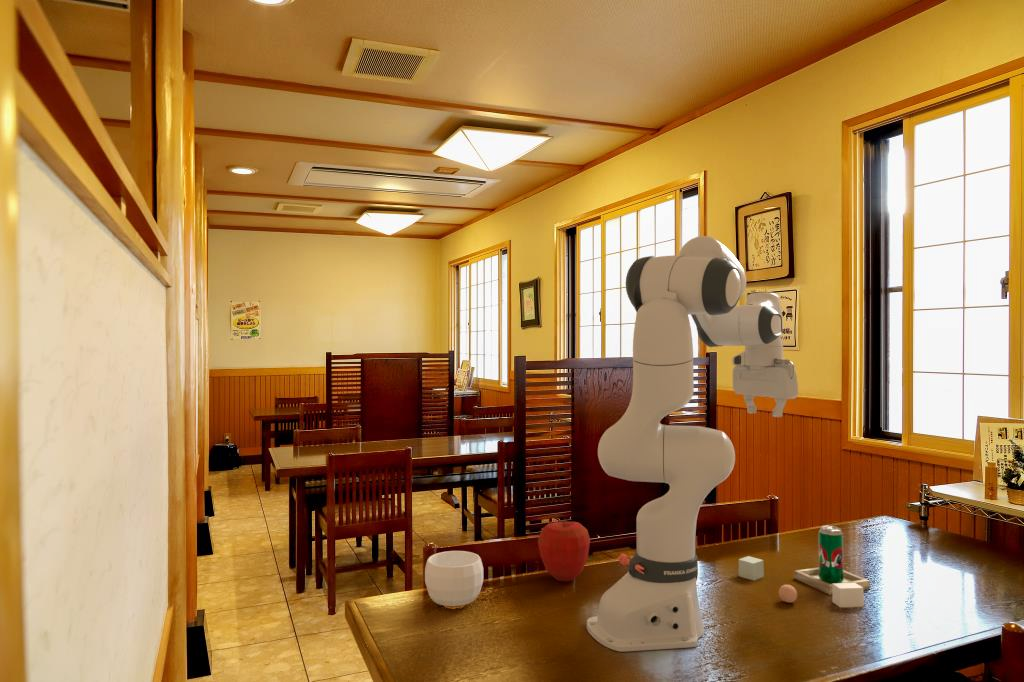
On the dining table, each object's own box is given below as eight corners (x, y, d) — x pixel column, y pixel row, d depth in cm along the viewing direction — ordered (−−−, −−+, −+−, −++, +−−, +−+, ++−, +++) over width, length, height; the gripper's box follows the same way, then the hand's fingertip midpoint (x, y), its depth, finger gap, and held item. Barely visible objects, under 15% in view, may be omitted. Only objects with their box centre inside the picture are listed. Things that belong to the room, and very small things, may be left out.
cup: (412, 605, 144) (412, 559, 144) (456, 589, 153) (455, 546, 153) (452, 621, 136) (452, 572, 136) (495, 603, 145) (495, 557, 145)
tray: (829, 594, 149) (829, 586, 149) (794, 578, 159) (794, 570, 159) (869, 588, 152) (869, 580, 152) (832, 573, 163) (832, 565, 163)
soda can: (844, 579, 156) (844, 526, 156) (842, 586, 152) (841, 532, 152) (820, 575, 159) (820, 524, 159) (817, 582, 155) (817, 529, 155)
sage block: (753, 580, 158) (753, 563, 158) (738, 576, 161) (738, 559, 161) (763, 577, 160) (763, 560, 160) (748, 572, 164) (748, 556, 164)
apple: (578, 567, 168) (577, 510, 168) (599, 583, 156) (599, 522, 156) (530, 573, 164) (530, 514, 164) (549, 590, 152) (548, 527, 152)
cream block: (840, 607, 142) (839, 588, 142) (832, 602, 145) (832, 583, 145) (863, 607, 142) (863, 587, 142) (855, 601, 145) (855, 582, 145)
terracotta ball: (786, 606, 142) (786, 588, 142) (775, 600, 146) (774, 583, 146) (800, 604, 143) (800, 586, 143) (789, 598, 147) (788, 581, 147)
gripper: (804, 359, 159) (805, 418, 159) (748, 357, 179) (748, 410, 179) (782, 359, 157) (782, 419, 157) (727, 358, 177) (728, 411, 177)
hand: (764, 414), depth 168 cm, fingers open, 8 cm apart
